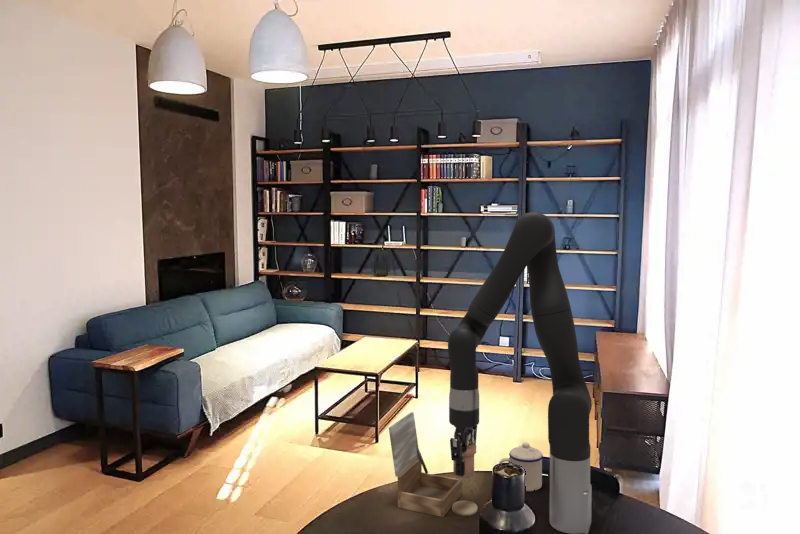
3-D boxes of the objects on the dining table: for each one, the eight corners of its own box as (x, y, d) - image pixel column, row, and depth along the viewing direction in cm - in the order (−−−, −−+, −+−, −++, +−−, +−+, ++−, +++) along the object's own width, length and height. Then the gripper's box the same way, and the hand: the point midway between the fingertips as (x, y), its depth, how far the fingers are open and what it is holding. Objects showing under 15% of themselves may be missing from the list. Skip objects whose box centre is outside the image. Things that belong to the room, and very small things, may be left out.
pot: (479, 471, 148) (479, 443, 147) (471, 480, 142) (471, 451, 142) (456, 467, 151) (456, 439, 150) (447, 476, 145) (447, 447, 145)
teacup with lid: (540, 478, 165) (540, 438, 164) (545, 492, 156) (545, 450, 155) (497, 477, 166) (497, 437, 165) (499, 491, 157) (499, 449, 156)
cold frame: (461, 494, 156) (461, 418, 154) (443, 517, 143) (442, 435, 142) (411, 484, 162) (410, 411, 161) (389, 505, 150) (388, 427, 148)
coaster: (480, 506, 148) (480, 503, 148) (472, 517, 143) (472, 514, 143) (457, 501, 151) (457, 498, 151) (448, 512, 145) (448, 509, 145)
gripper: (469, 415, 137) (468, 485, 138) (487, 399, 150) (486, 463, 151) (439, 410, 141) (439, 479, 142) (459, 395, 153) (459, 458, 155)
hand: (464, 470), depth 146 cm, fingers closed on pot, 5 cm apart
